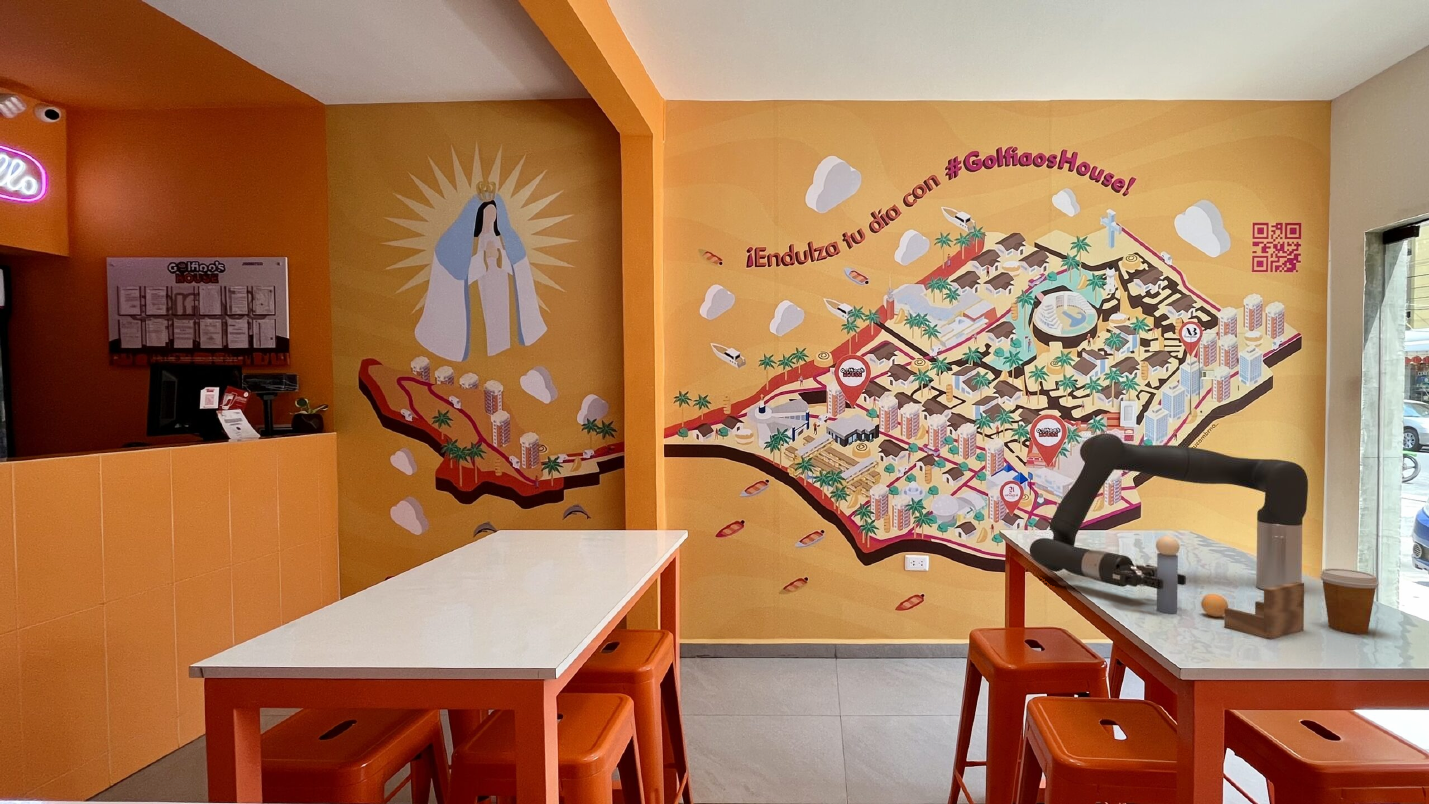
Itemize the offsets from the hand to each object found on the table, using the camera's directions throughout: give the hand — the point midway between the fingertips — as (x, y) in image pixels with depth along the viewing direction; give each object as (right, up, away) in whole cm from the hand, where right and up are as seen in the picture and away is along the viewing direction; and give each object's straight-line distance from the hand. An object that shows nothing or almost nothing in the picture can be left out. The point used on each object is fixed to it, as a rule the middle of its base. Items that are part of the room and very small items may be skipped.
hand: (1173, 582), depth 166 cm
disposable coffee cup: (+30, -7, -11) cm, 33 cm away
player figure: (-1, -7, +1) cm, 7 cm away
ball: (+8, -5, -2) cm, 9 cm away
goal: (+12, -7, -11) cm, 18 cm away
